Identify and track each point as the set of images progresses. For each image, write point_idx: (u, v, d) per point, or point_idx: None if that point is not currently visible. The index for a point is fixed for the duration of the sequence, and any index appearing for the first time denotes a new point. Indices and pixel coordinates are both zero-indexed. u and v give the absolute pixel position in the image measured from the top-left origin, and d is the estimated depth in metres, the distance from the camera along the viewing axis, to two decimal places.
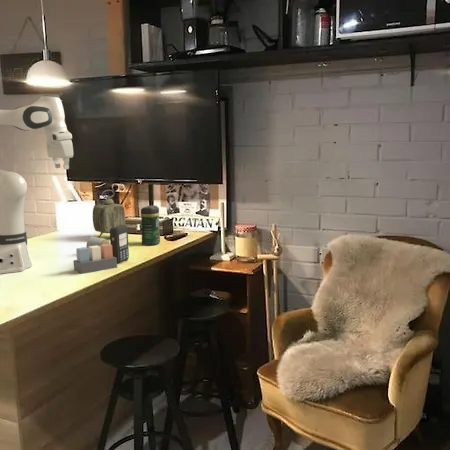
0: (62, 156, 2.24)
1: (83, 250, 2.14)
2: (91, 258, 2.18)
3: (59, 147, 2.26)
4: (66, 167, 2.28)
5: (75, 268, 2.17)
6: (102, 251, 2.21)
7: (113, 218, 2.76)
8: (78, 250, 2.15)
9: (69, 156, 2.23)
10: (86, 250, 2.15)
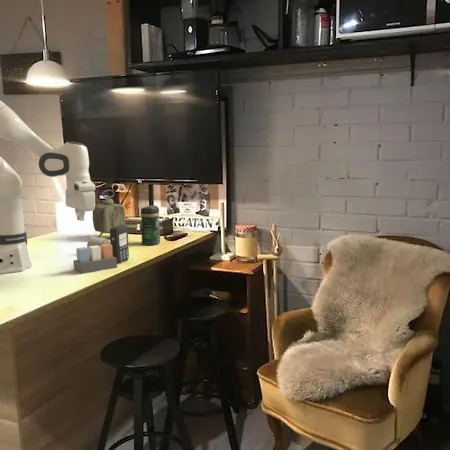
0: (82, 208, 2.06)
1: (83, 250, 2.14)
2: (91, 258, 2.18)
3: (80, 198, 2.08)
4: (81, 219, 2.12)
5: (75, 268, 2.17)
6: (102, 251, 2.21)
7: (113, 218, 2.76)
8: (78, 250, 2.15)
9: (90, 209, 2.05)
10: (86, 250, 2.15)
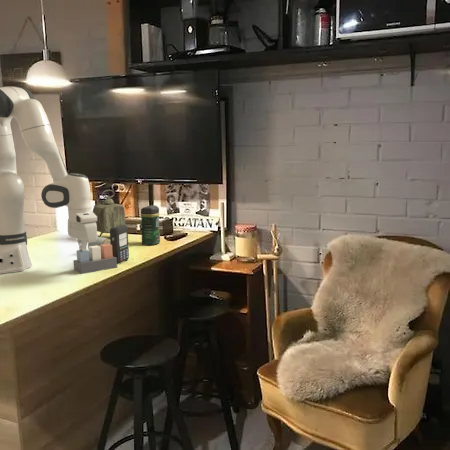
0: (85, 239, 2.08)
1: (83, 252, 2.14)
2: (91, 258, 2.18)
3: (82, 229, 2.09)
4: (83, 249, 2.14)
5: (75, 268, 2.17)
6: (102, 251, 2.21)
7: (113, 218, 2.76)
8: (78, 252, 2.15)
9: (92, 240, 2.07)
10: (86, 252, 2.15)
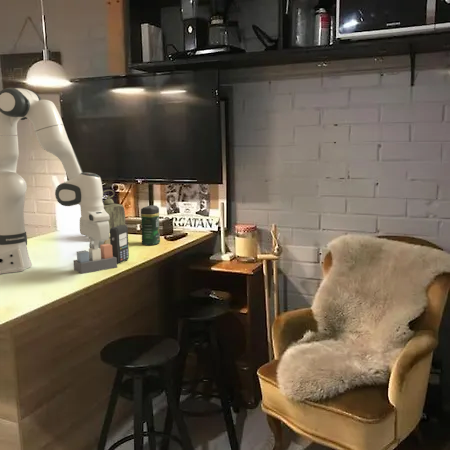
0: (97, 238, 2.11)
1: (83, 253, 2.14)
2: None
3: (95, 228, 2.13)
4: (95, 247, 2.17)
5: (75, 268, 2.17)
6: (102, 251, 2.21)
7: (113, 218, 2.76)
8: (78, 253, 2.15)
9: (105, 239, 2.10)
10: (86, 253, 2.15)
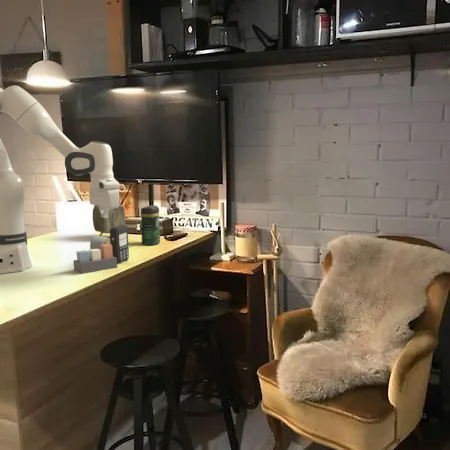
0: (107, 206, 2.12)
1: (83, 253, 2.14)
2: None
3: (105, 196, 2.13)
4: (105, 216, 2.18)
5: (75, 268, 2.17)
6: (102, 251, 2.21)
7: (113, 218, 2.76)
8: (78, 253, 2.15)
9: (115, 206, 2.11)
10: (86, 253, 2.15)
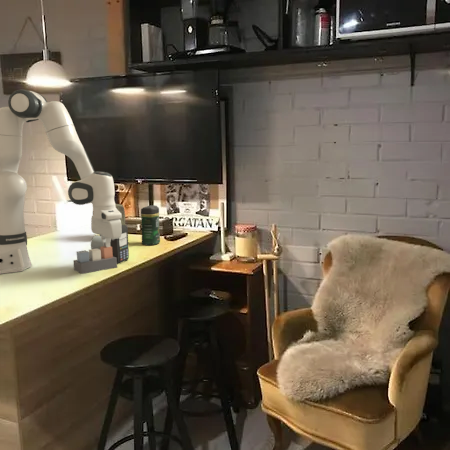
0: (109, 236, 2.14)
1: (83, 253, 2.14)
2: None
3: (107, 226, 2.16)
4: (107, 245, 2.21)
5: (75, 268, 2.17)
6: (102, 253, 2.21)
7: None
8: (78, 253, 2.15)
9: (117, 237, 2.13)
10: (86, 253, 2.15)
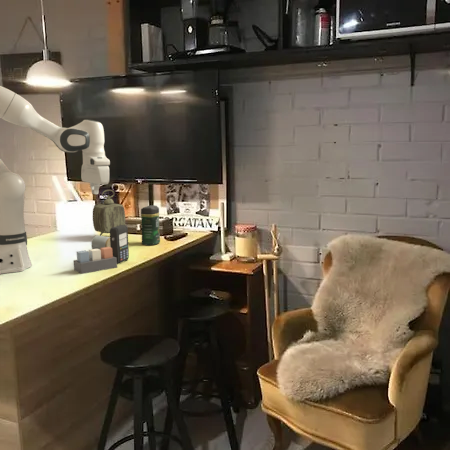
0: (97, 182, 2.20)
1: (83, 253, 2.14)
2: None
3: (95, 172, 2.21)
4: (96, 192, 2.26)
5: (75, 268, 2.17)
6: (102, 254, 2.21)
7: (113, 218, 2.76)
8: (78, 253, 2.15)
9: (105, 182, 2.19)
10: (86, 253, 2.15)
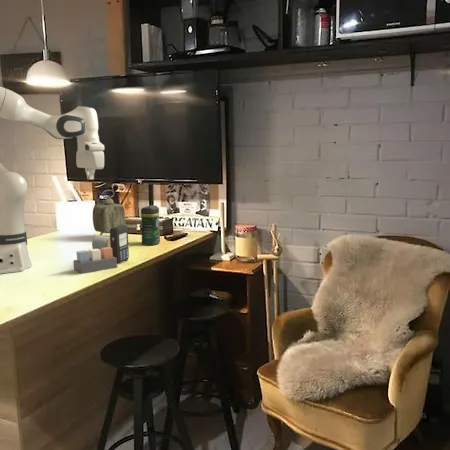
0: (93, 167, 2.25)
1: (83, 253, 2.14)
2: None
3: (90, 158, 2.26)
4: (91, 177, 2.31)
5: (75, 268, 2.17)
6: (102, 254, 2.21)
7: (113, 218, 2.76)
8: (78, 253, 2.15)
9: (100, 167, 2.24)
10: (86, 253, 2.15)
